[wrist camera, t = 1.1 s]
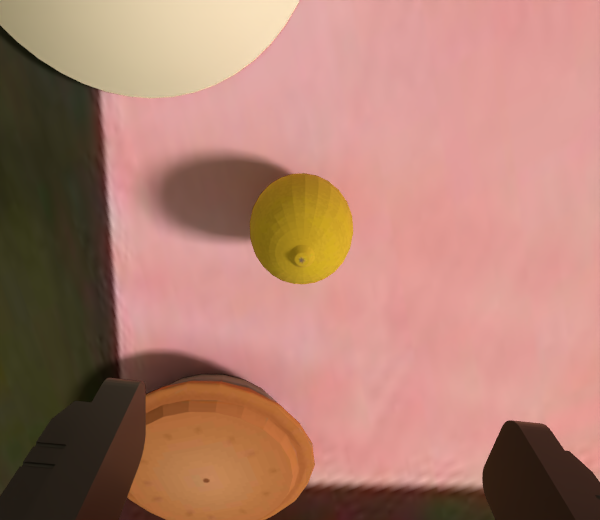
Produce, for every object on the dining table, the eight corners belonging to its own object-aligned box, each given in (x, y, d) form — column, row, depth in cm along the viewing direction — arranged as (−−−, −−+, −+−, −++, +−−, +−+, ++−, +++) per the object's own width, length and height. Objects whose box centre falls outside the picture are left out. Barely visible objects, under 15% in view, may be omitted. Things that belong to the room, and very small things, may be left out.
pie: (98, 456, 37) (71, 512, 33) (156, 320, 31) (133, 367, 27) (263, 507, 41) (259, 565, 36) (345, 393, 34) (353, 445, 30)
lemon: (243, 174, 26) (223, 224, 19) (331, 146, 26) (345, 186, 19) (273, 253, 29) (265, 323, 22) (354, 229, 28) (374, 293, 21)
